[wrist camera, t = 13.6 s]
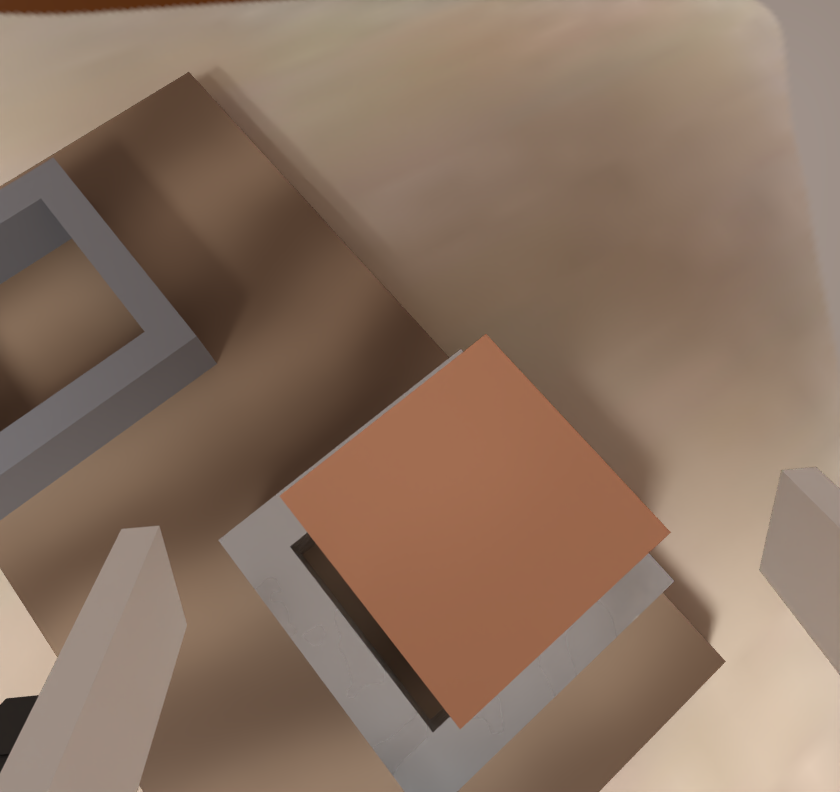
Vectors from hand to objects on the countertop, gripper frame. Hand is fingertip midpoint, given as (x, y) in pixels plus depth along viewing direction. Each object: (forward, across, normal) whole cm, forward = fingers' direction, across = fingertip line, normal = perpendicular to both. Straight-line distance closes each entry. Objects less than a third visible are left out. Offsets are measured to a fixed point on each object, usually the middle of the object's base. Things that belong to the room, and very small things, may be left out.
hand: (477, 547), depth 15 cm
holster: (+12, -14, +1) cm, 18 cm away
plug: (+6, 0, -6) cm, 8 cm away
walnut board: (+10, -7, -4) cm, 13 cm away
